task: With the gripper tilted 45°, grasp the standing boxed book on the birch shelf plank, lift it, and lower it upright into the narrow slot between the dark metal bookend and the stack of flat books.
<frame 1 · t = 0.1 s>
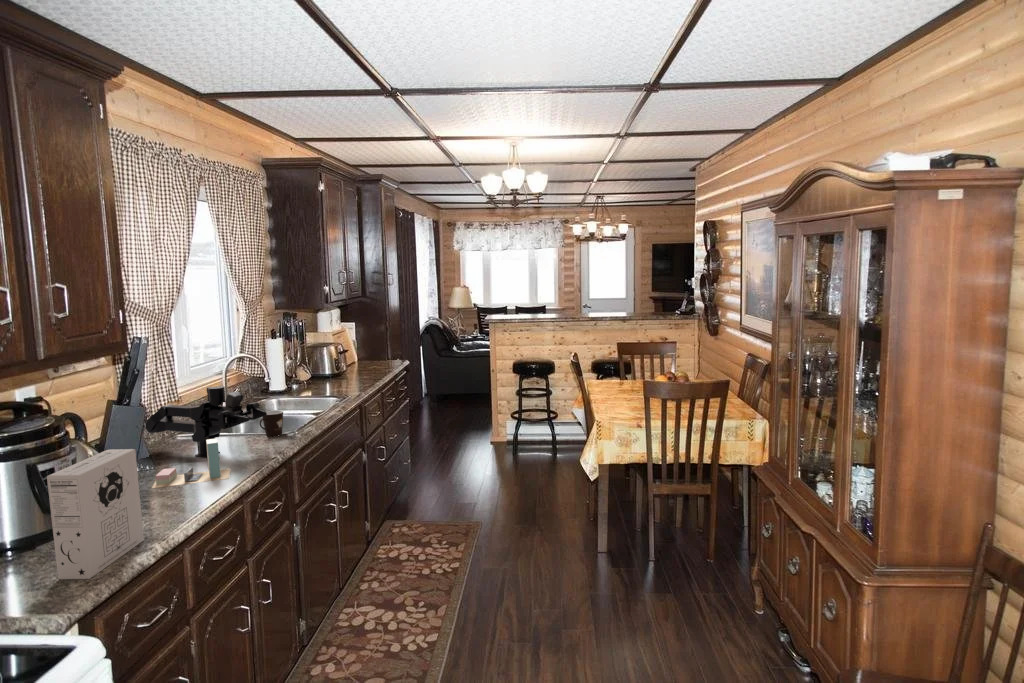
hand: (257, 416, 241), 17 cm above the countertop, tool horizontal, fingers open, 9 cm apart
metal bookend: (193, 474, 219), on the shelf plank, point 3 cm above the countertop
coffee mug: (270, 436, 278), on the countertop
cereal box: (104, 559, 162), on the countertop
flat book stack: (166, 476, 218), on the shelf plank, point 3 cm above the countertop
boxed book: (214, 475, 222), point 1 cm above the countertop, touching shelf plank
shelf plank: (193, 481, 220), on the countertop
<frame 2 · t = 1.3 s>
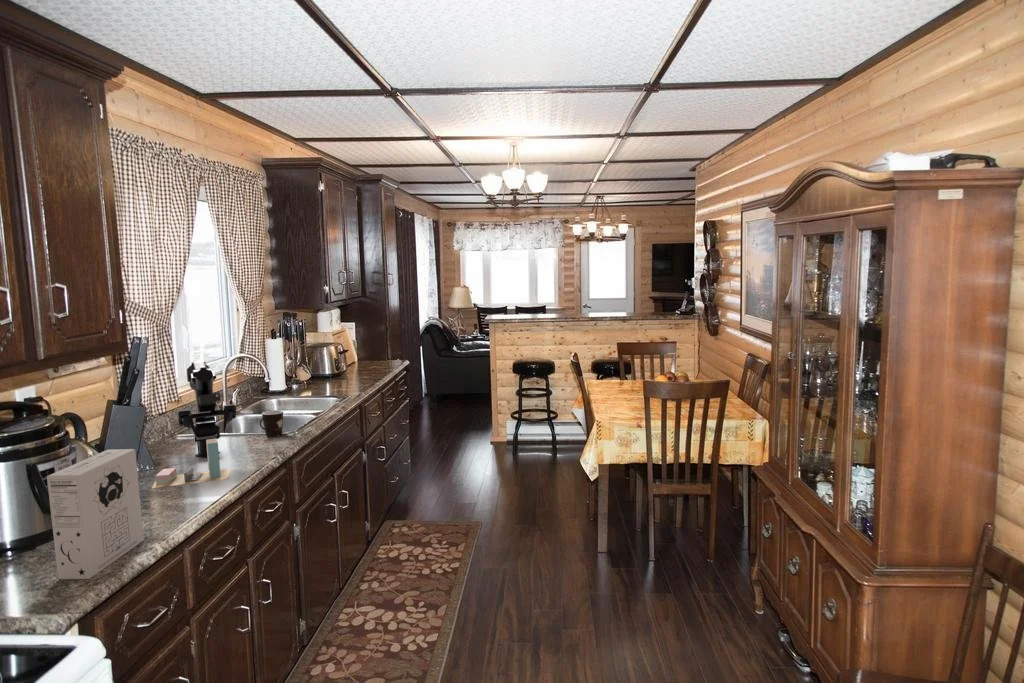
hand: (210, 434, 228), 14 cm above the countertop, tool tilted 45°, fingers open, 9 cm apart
nothing on the countertop moved.
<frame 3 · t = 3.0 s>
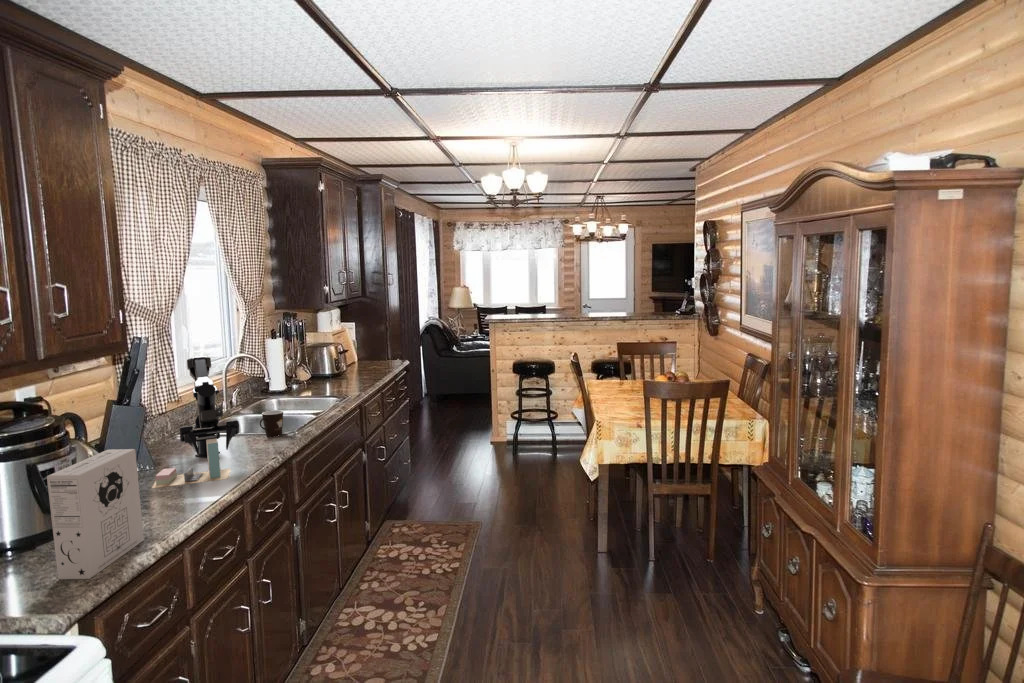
hand: (212, 451, 222), 9 cm above the countertop, tool tilted 45°, fingers open, 9 cm apart
nothing on the countertop moved.
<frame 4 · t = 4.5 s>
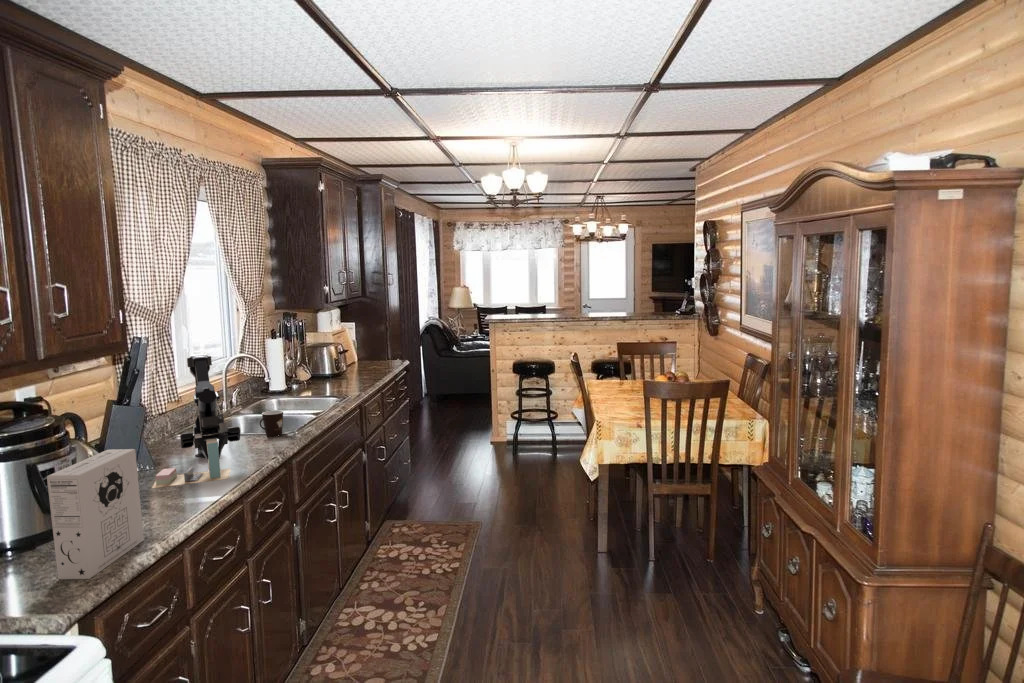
hand: (213, 458, 220), 8 cm above the countertop, tool tilted 45°, fingers closed on boxed book, 3 cm apart
boxed book: (214, 475, 222), point 1 cm above the countertop, touching gripper, shelf plank
everything else where it was.
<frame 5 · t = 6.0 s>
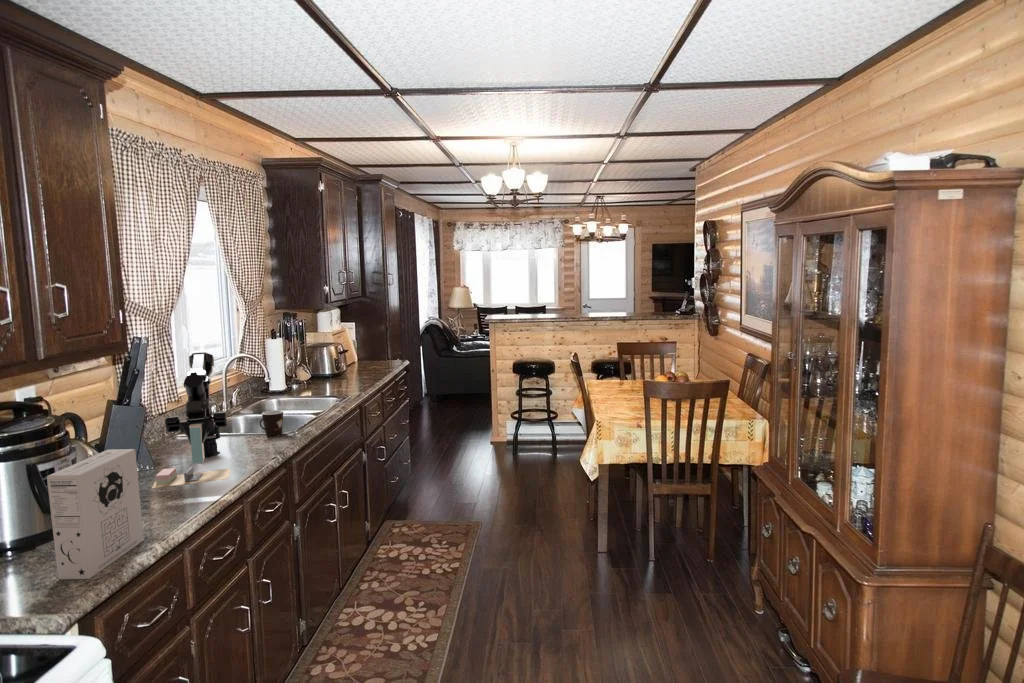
hand: (196, 443, 218), 13 cm above the countertop, tool tilted 45°, fingers closed on boxed book, 3 cm apart
boxed book: (198, 460, 220), point 7 cm above the countertop, touching gripper
everything else where it was.
when the fingers open (9 cm above the countertop, at t = 7.8 s): boxed book drops 1 cm, resting on shelf plank.
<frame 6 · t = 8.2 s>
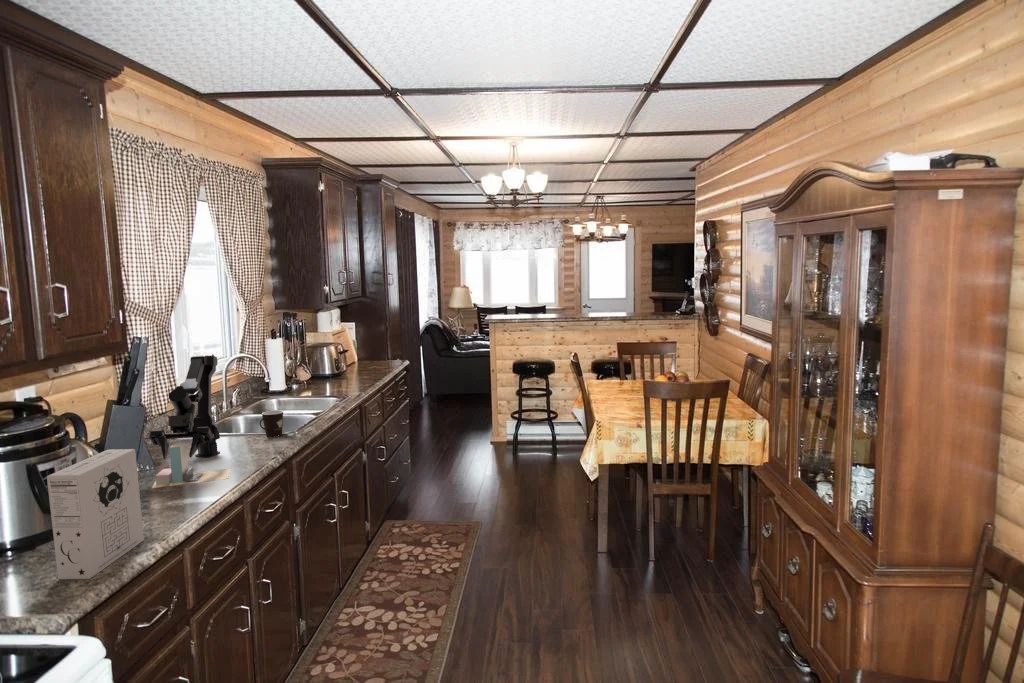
hand: (177, 457, 217), 9 cm above the countertop, tool tilted 45°, fingers open, 8 cm apart
boxed book: (180, 479, 219), point 1 cm above the countertop, touching shelf plank
everything else where it was.
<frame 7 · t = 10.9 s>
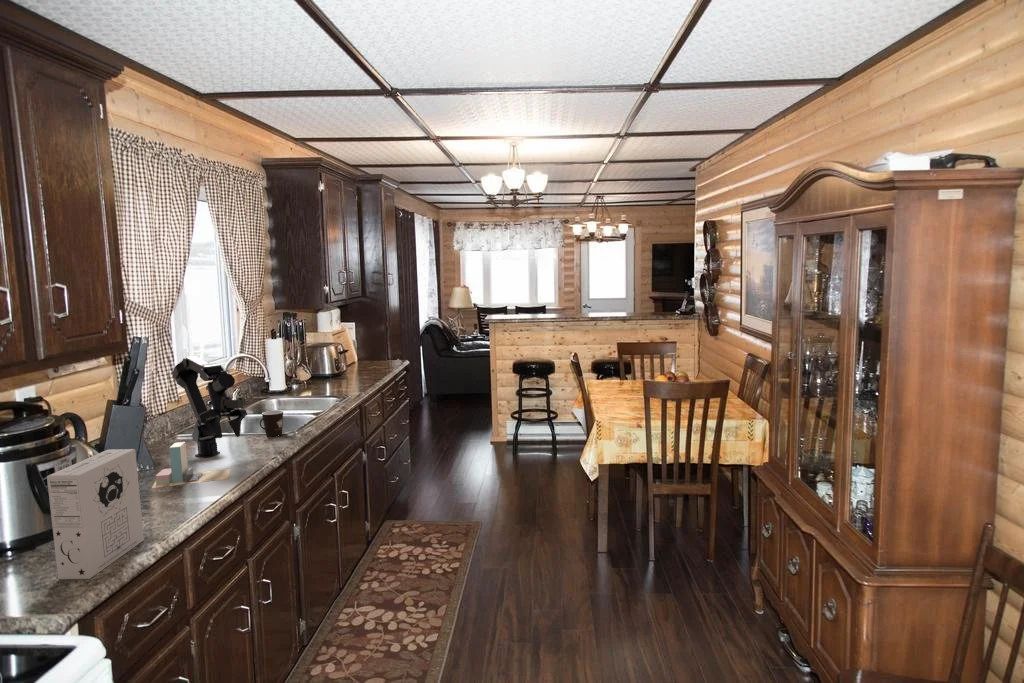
hand: (229, 437, 237), 10 cm above the countertop, tool tilted 25°, fingers open, 9 cm apart
nothing on the countertop moved.
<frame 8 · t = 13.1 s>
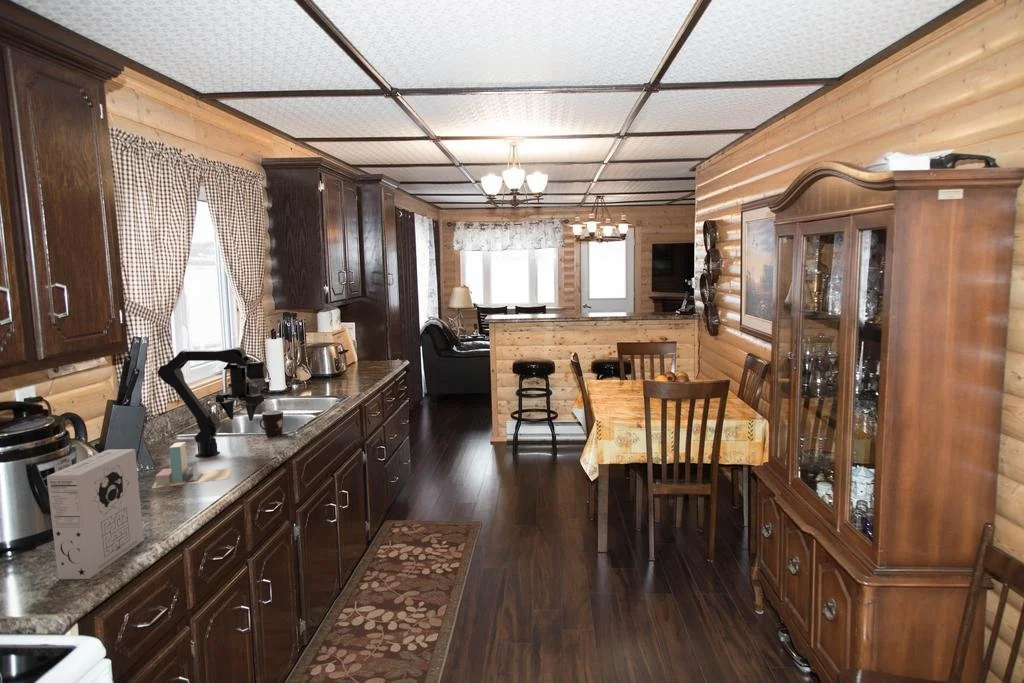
hand: (241, 420, 252), 13 cm above the countertop, tool pointing down, fingers open, 9 cm apart
nothing on the countertop moved.
at the end: boxed book 0.0 cm off-centre on the metal bookend, point 0.0 cm above the metal bookend's base; boxed book tilted 0°; the gripper is holding nothing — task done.
